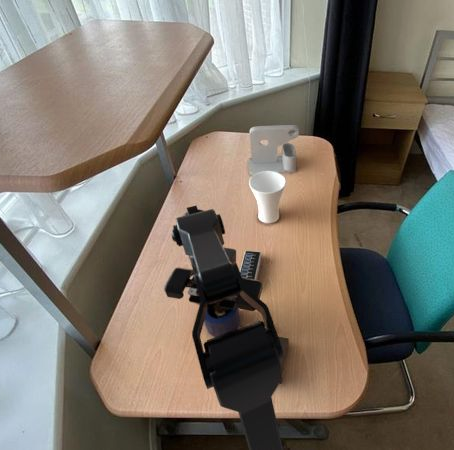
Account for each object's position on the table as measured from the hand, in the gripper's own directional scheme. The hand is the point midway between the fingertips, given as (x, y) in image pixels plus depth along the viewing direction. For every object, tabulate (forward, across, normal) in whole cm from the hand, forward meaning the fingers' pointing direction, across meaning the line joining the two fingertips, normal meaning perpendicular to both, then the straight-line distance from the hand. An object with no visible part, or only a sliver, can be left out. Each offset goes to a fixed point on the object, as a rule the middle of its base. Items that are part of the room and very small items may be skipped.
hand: (220, 309), depth 71 cm
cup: (+6, -2, -37) cm, 37 cm away
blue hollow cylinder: (+6, 0, 0) cm, 6 cm away
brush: (+5, 0, 0) cm, 5 cm away
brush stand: (+6, -12, +7) cm, 15 cm away
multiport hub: (+6, -2, -15) cm, 16 cm away
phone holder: (+6, +3, -64) cm, 64 cm away
